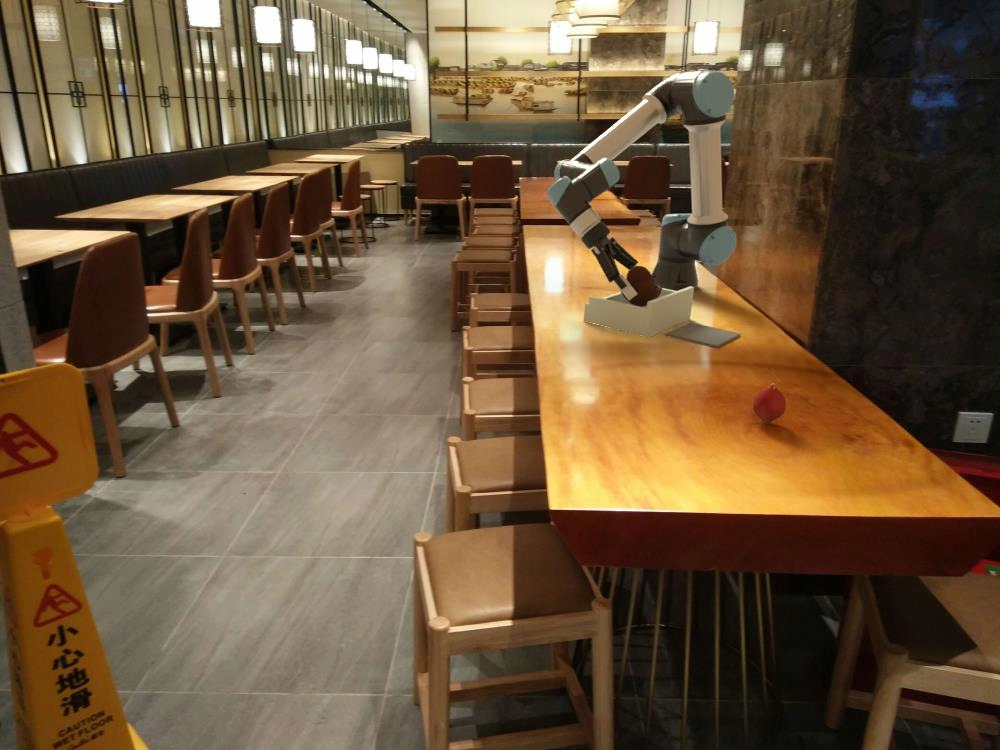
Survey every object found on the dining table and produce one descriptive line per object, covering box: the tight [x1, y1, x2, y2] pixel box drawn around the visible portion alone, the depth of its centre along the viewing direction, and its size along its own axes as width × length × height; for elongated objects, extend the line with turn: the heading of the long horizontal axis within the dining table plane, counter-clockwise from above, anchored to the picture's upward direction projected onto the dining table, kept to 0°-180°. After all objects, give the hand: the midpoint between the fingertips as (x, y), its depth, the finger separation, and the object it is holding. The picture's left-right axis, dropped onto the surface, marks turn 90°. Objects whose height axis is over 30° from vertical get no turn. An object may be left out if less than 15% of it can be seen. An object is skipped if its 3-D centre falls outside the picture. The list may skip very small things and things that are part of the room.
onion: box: [752, 382, 787, 424], centre depth 137 cm, size 6×6×8 cm
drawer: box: [583, 286, 695, 338], centre depth 199 cm, size 23×19×9 cm
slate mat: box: [664, 322, 741, 349], centre depth 189 cm, size 14×14×1 cm
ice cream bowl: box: [620, 265, 662, 307], centre depth 198 cm, size 11×11×15 cm
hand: (640, 291), depth 197 cm, fingers open, 13 cm apart
